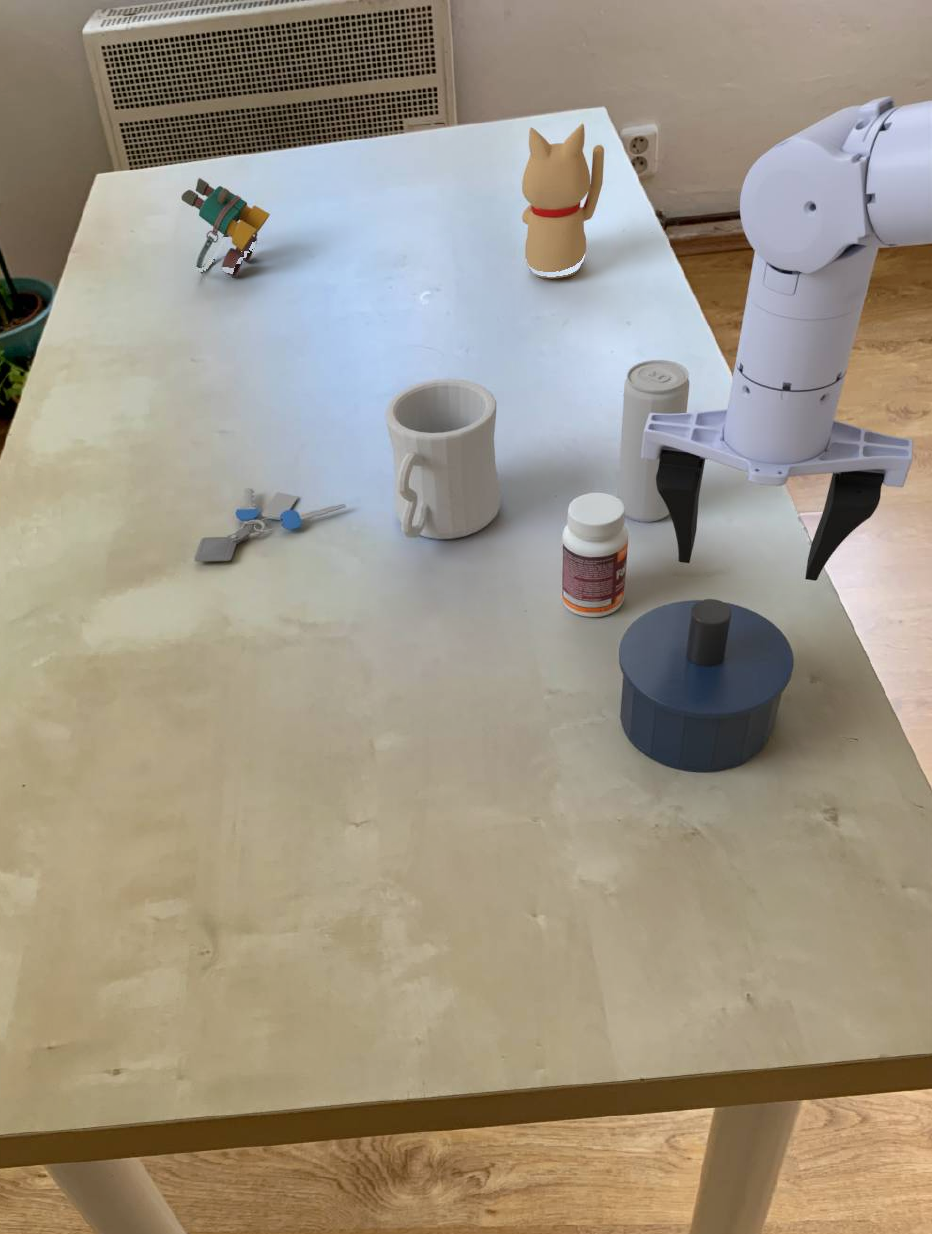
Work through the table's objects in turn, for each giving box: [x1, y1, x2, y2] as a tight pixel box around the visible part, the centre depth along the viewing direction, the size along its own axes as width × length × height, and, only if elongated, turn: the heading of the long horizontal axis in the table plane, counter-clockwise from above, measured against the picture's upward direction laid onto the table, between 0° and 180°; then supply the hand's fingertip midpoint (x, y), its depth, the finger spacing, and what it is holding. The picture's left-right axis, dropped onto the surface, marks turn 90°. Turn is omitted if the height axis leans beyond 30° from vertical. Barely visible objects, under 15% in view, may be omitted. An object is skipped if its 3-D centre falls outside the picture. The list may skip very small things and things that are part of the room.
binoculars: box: [181, 177, 271, 279], centre depth 130 cm, size 9×9×10 cm
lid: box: [618, 598, 795, 719], centre depth 69 cm, size 11×11×5 cm
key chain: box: [194, 487, 347, 563], centre depth 96 cm, size 14×8×1 cm, turn 121°
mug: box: [384, 378, 502, 540], centre depth 89 cm, size 12×9×10 cm
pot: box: [619, 675, 783, 773], centre depth 73 cm, size 10×10×5 cm
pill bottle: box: [560, 492, 629, 618], centre depth 81 cm, size 5×5×8 cm
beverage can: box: [617, 359, 690, 523], centre depth 87 cm, size 5×5×12 cm
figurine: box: [521, 123, 605, 279], centre depth 117 cm, size 9×10×15 cm
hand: (748, 561), depth 69 cm, fingers open, 7 cm apart
